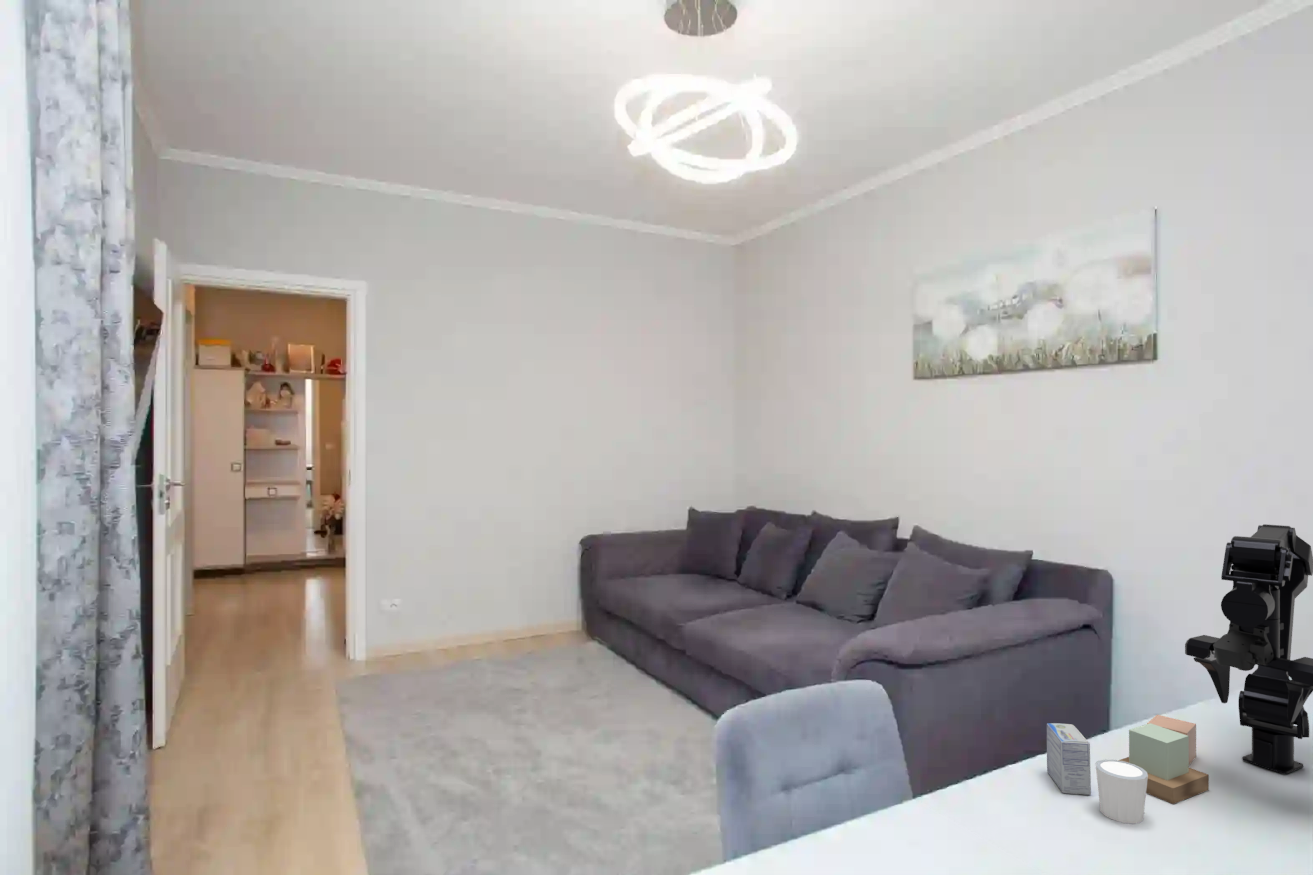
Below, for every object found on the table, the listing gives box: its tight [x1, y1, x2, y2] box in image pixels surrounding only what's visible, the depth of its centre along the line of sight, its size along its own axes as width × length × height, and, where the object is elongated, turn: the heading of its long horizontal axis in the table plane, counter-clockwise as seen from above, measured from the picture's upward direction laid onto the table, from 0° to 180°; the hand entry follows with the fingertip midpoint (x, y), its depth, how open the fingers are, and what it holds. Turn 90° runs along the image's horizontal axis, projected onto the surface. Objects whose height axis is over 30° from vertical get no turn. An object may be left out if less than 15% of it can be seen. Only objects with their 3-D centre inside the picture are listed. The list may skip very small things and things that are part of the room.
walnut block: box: [1117, 756, 1210, 805], centre depth 124 cm, size 10×10×2 cm
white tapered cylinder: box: [1095, 759, 1148, 825], centre depth 114 cm, size 7×7×7 cm
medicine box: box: [1046, 722, 1092, 796], centre depth 124 cm, size 8×4×9 cm, turn 168°
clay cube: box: [1146, 714, 1197, 765], centre depth 134 cm, size 6×6×6 cm
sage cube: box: [1128, 723, 1190, 780], centre depth 123 cm, size 6×6×6 cm
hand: (1256, 711), depth 120 cm, fingers open, 9 cm apart
